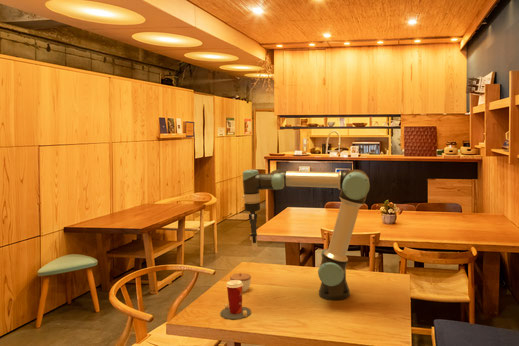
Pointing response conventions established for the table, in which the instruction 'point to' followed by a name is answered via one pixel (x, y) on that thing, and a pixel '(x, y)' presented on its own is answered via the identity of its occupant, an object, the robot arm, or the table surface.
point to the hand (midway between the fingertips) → (254, 245)
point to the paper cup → (235, 296)
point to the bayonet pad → (227, 315)
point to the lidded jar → (244, 278)
